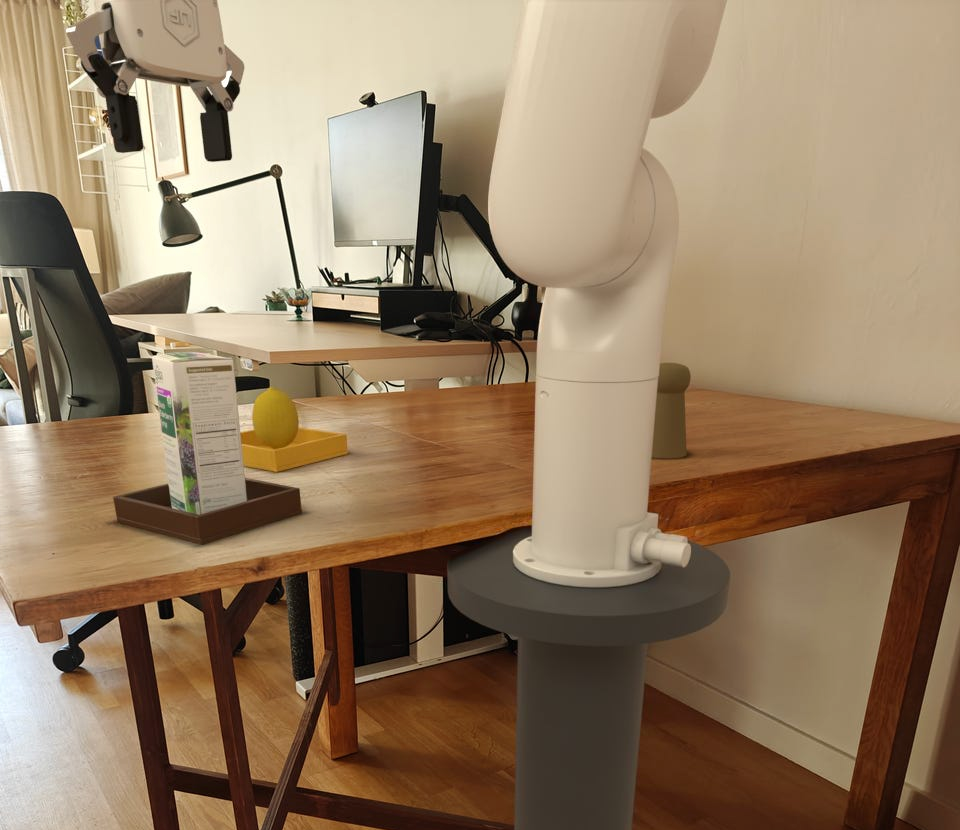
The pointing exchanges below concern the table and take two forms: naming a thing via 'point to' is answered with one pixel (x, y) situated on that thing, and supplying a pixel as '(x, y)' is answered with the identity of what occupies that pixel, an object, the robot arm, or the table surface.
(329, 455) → the yellow tray
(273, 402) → the lemon
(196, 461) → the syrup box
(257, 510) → the brown tray
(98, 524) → the table surface
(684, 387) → the cork
